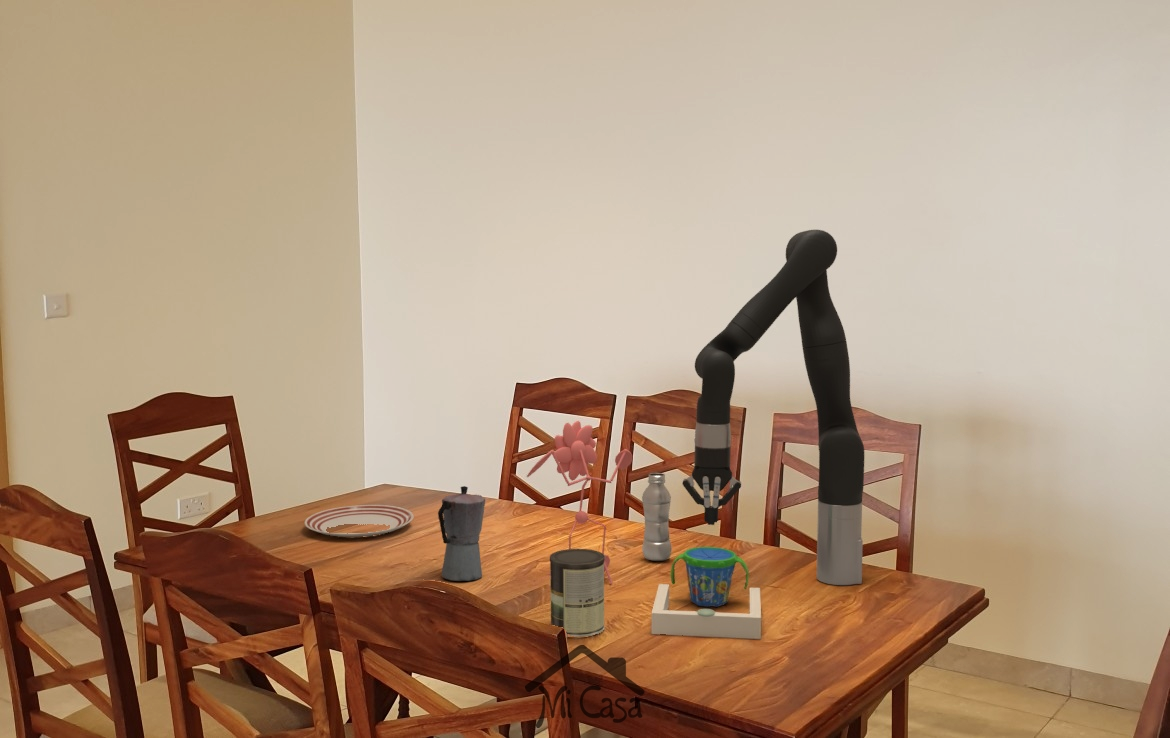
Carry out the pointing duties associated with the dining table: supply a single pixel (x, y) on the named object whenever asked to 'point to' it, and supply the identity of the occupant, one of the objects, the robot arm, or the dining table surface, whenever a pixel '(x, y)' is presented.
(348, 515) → the dinner plate
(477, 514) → the moka pot
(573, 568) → the coffee can
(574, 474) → the figurine
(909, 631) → the dining table surface
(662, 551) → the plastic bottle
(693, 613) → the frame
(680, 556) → the snack cup
